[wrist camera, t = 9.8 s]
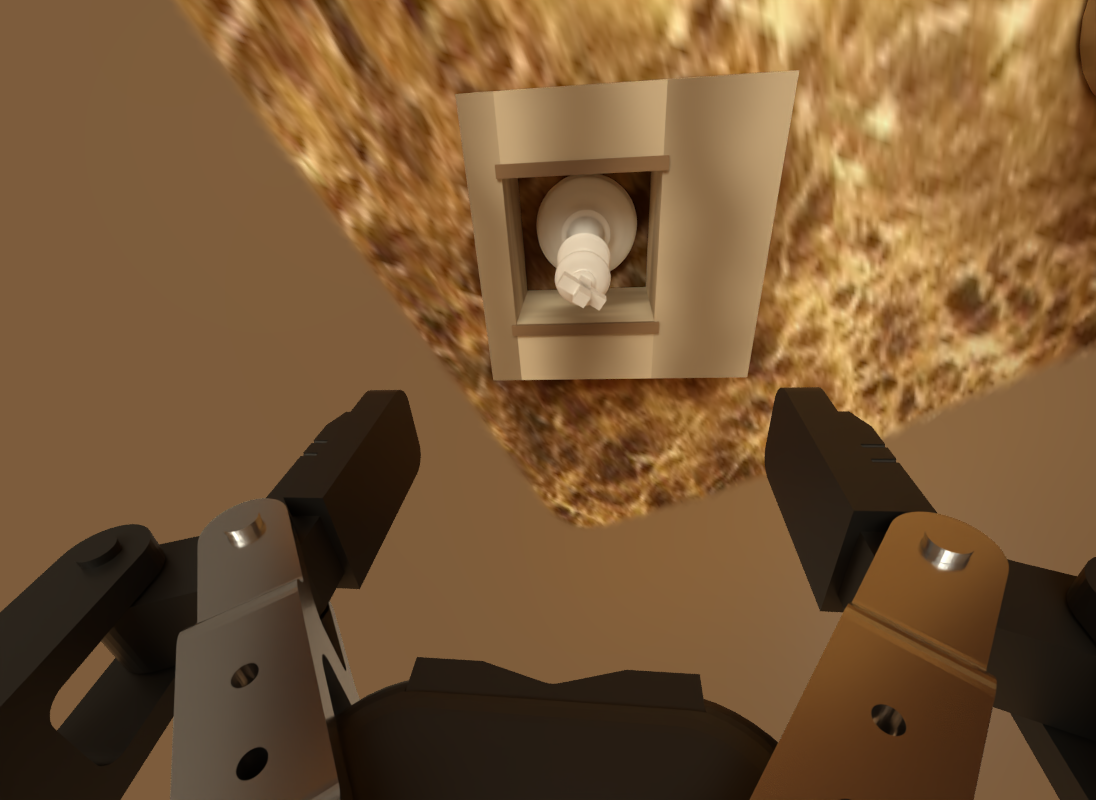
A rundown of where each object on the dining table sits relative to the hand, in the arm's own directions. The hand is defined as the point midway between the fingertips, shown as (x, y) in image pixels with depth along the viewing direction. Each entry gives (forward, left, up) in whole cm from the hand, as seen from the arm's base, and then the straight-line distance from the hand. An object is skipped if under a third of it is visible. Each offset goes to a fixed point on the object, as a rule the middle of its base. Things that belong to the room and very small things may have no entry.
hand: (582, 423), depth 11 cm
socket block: (-1, 0, -17) cm, 17 cm away
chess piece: (0, 0, -17) cm, 17 cm away
